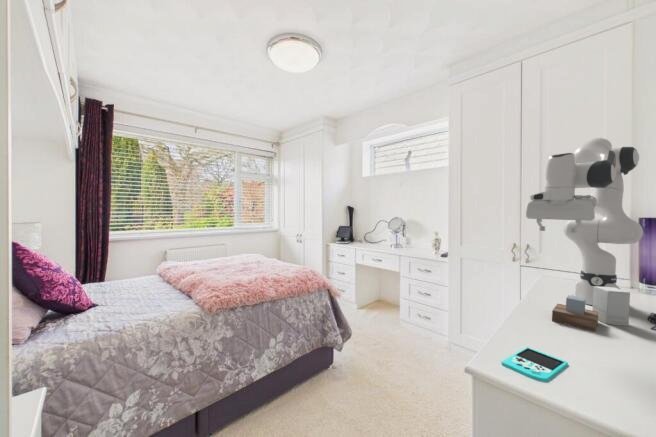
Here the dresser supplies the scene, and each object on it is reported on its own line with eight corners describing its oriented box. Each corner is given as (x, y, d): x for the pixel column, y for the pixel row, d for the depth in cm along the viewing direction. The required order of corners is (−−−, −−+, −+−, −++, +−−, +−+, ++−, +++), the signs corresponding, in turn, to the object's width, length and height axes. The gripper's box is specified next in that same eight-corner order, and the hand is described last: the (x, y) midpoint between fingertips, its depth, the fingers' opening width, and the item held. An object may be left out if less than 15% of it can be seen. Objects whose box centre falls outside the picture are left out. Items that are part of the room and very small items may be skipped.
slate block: (567, 307, 109) (568, 295, 109) (584, 311, 105) (585, 298, 105) (565, 310, 105) (566, 297, 105) (583, 314, 102) (584, 301, 102)
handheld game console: (499, 365, 75) (500, 360, 75) (526, 350, 84) (526, 345, 84) (544, 385, 67) (544, 380, 67) (568, 366, 76) (568, 361, 76)
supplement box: (629, 326, 102) (631, 292, 101) (605, 324, 103) (607, 290, 103) (613, 318, 109) (615, 287, 109) (591, 316, 111) (592, 285, 110)
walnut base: (557, 313, 114) (557, 303, 114) (597, 322, 105) (598, 311, 105) (551, 320, 106) (552, 310, 106) (595, 331, 97) (596, 320, 97)
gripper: (597, 195, 101) (595, 233, 101) (529, 196, 116) (528, 229, 116) (596, 194, 96) (594, 234, 97) (525, 195, 111) (524, 230, 112)
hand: (557, 231), depth 107 cm, fingers open, 8 cm apart
